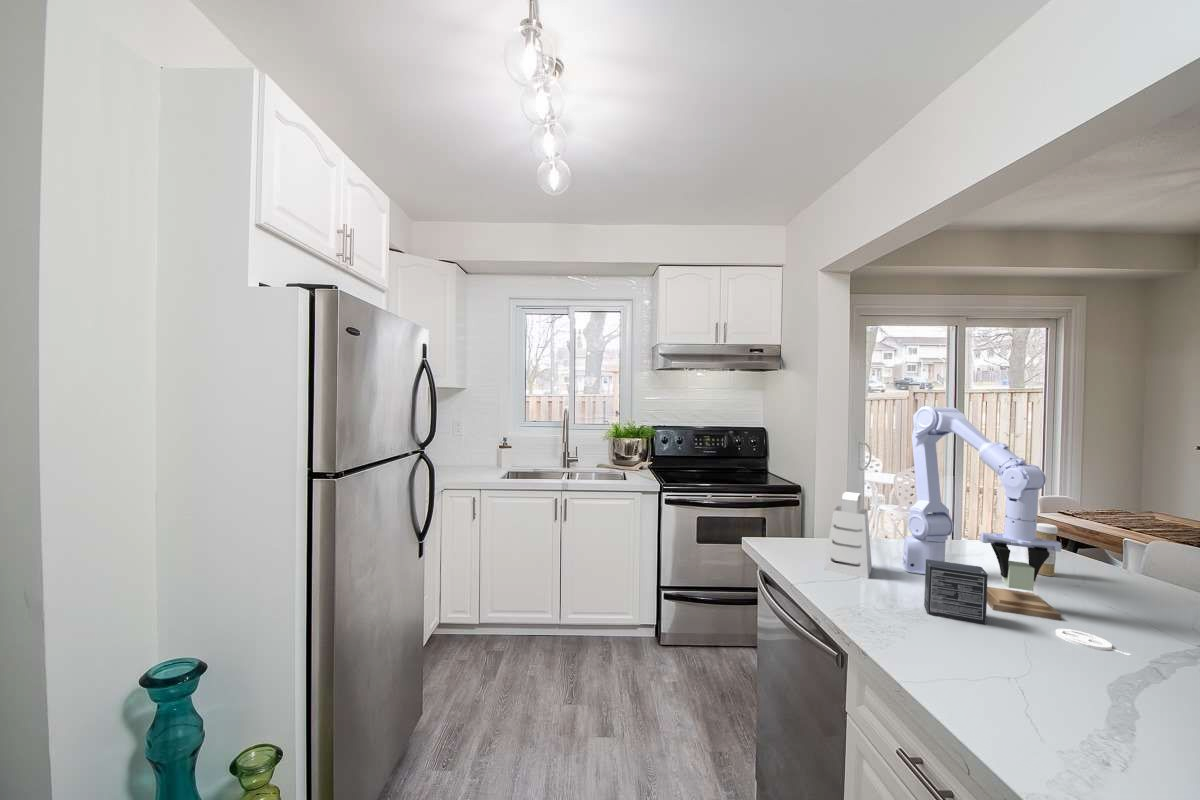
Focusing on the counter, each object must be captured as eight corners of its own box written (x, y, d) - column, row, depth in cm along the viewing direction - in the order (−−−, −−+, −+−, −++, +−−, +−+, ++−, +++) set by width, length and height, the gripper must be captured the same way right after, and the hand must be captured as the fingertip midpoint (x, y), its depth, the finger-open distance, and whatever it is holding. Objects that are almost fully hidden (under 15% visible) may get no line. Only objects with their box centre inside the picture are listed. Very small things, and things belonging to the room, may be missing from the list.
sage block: (1008, 587, 120) (1009, 565, 120) (1001, 581, 124) (1002, 559, 124) (1033, 591, 119) (1034, 568, 119) (1025, 584, 123) (1026, 562, 123)
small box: (980, 614, 115) (982, 565, 115) (987, 625, 110) (989, 574, 109) (922, 604, 120) (925, 557, 120) (926, 614, 114) (929, 565, 114)
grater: (823, 569, 141) (827, 494, 141) (830, 560, 150) (833, 488, 150) (867, 578, 136) (871, 499, 136) (871, 567, 145) (875, 493, 144)
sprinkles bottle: (1035, 570, 149) (1038, 521, 149) (1056, 574, 145) (1059, 525, 145) (1031, 573, 146) (1034, 523, 146) (1052, 577, 143) (1055, 527, 142)
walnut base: (993, 609, 118) (993, 600, 118) (976, 591, 129) (977, 583, 129) (1060, 620, 114) (1061, 610, 114) (1037, 600, 125) (1038, 592, 125)
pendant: (1060, 629, 110) (1060, 625, 110) (1135, 651, 101) (1136, 647, 101) (1050, 638, 105) (1050, 634, 105) (1128, 661, 97) (1128, 657, 97)
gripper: (988, 518, 120) (985, 578, 120) (1068, 526, 115) (1065, 589, 115) (978, 511, 127) (975, 569, 127) (1054, 519, 122) (1051, 579, 122)
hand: (1017, 578), depth 121 cm, fingers closed on sage block, 4 cm apart
